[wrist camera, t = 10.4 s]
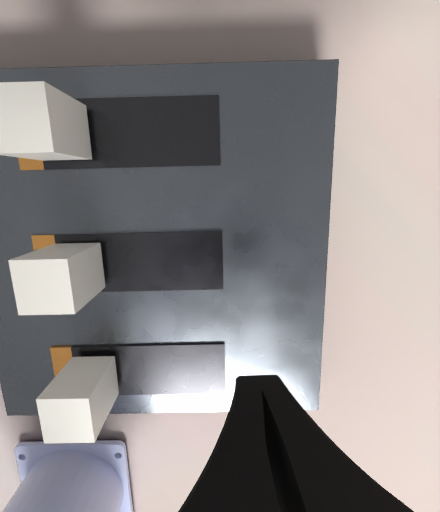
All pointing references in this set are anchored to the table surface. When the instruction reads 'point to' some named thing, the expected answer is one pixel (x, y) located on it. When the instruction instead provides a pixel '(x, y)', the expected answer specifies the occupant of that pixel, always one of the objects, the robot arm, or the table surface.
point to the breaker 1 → (42, 123)
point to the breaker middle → (57, 278)
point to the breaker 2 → (78, 400)
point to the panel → (180, 232)
